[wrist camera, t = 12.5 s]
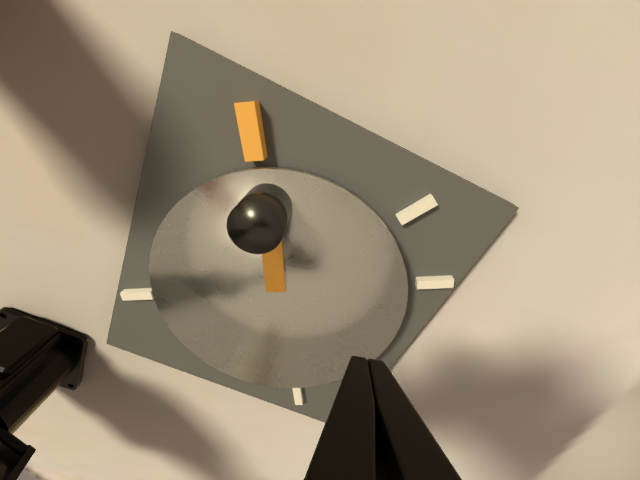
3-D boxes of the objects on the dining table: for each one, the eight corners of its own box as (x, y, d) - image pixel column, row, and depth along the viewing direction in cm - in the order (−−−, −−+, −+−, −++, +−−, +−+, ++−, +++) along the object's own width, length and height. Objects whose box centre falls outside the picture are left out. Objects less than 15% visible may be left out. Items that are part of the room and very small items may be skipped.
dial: (393, 380, 23) (403, 433, 20) (185, 373, 24) (158, 422, 21) (419, 164, 16) (441, 185, 13) (127, 166, 17) (71, 185, 14)
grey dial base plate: (341, 419, 27) (341, 440, 26) (113, 336, 25) (97, 353, 23) (512, 203, 18) (528, 214, 17) (178, 33, 16) (160, 27, 14)
